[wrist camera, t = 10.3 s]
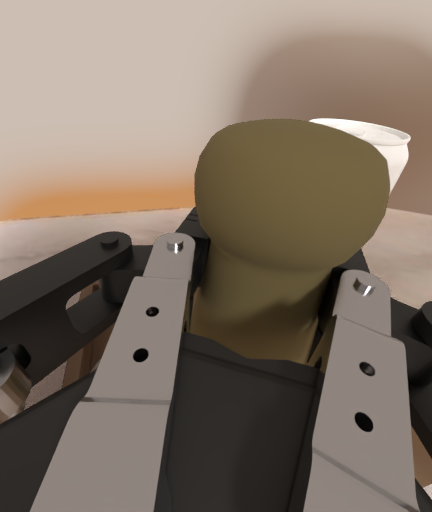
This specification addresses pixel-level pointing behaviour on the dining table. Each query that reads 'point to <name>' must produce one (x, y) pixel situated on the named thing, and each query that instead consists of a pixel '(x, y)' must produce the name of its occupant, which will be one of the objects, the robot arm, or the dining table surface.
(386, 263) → the dining table surface
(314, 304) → the olive pawn figure
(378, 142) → the beverage can
